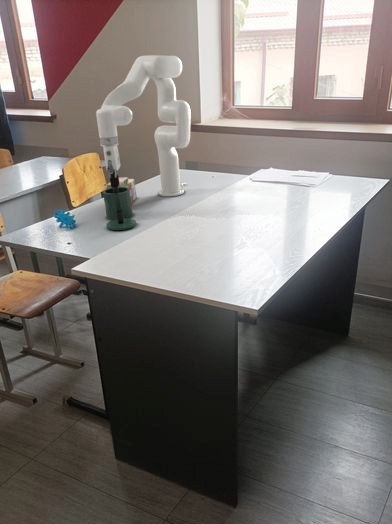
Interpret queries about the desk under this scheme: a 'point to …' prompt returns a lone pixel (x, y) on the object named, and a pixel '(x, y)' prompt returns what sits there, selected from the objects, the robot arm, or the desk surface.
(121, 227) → the lid
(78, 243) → the desk surface
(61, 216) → the gear
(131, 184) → the stack of blocks
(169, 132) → the robot arm
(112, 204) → the green hollow cylinder
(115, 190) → the cylinder
